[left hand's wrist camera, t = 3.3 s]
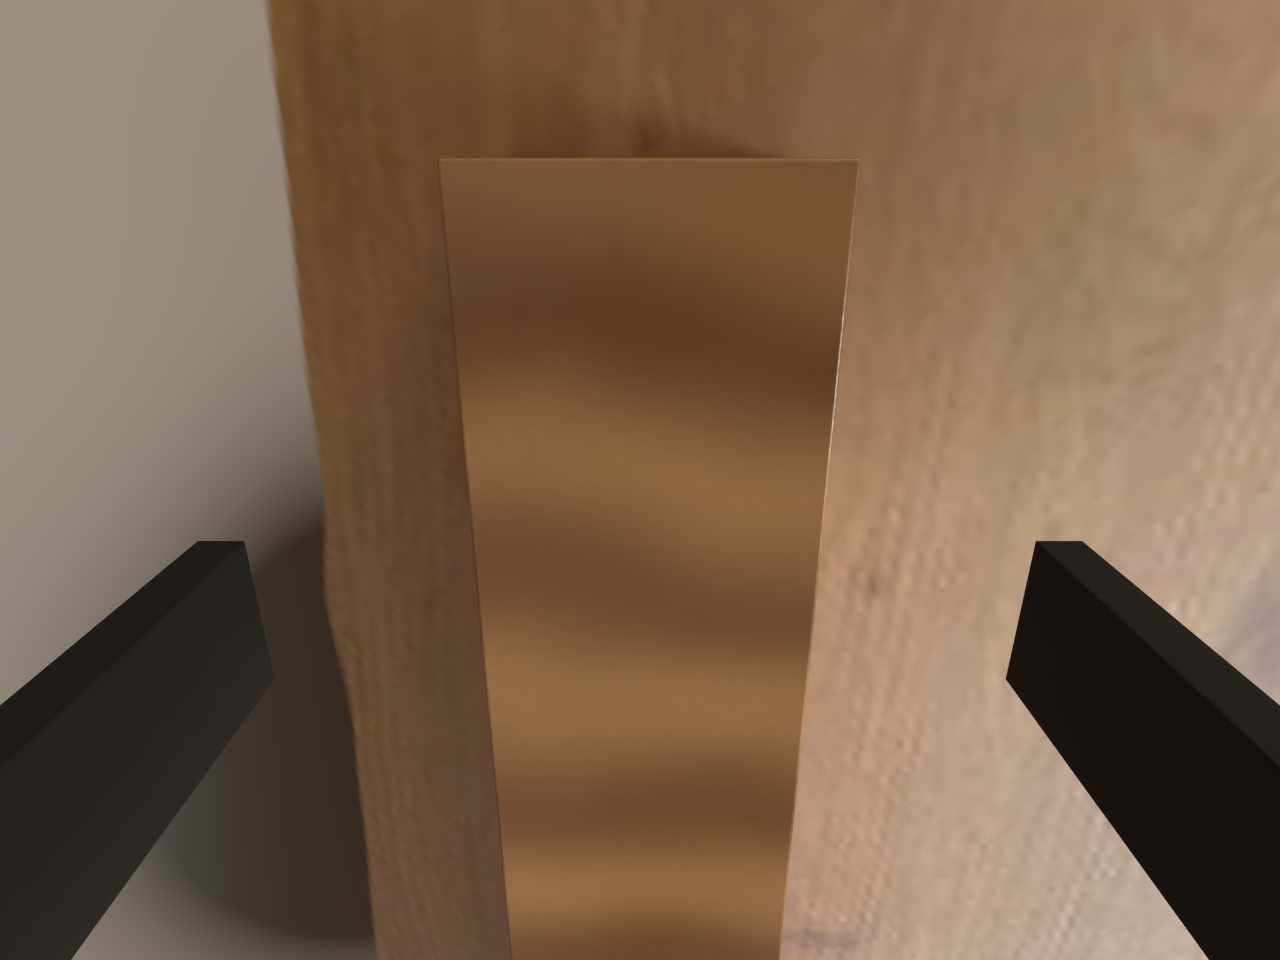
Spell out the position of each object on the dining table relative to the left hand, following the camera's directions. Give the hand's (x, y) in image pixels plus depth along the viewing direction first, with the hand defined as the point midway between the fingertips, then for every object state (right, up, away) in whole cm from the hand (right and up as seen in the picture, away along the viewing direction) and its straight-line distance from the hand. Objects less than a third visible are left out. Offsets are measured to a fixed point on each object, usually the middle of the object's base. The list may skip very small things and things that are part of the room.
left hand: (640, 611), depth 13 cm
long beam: (0, -18, +22) cm, 28 cm away
